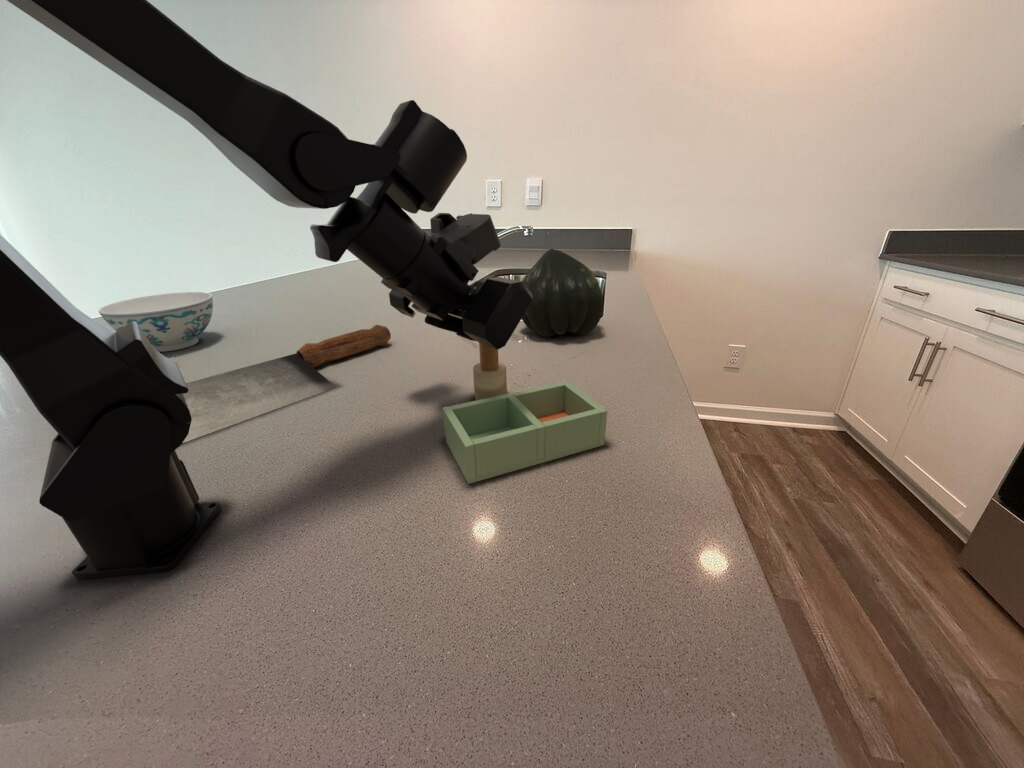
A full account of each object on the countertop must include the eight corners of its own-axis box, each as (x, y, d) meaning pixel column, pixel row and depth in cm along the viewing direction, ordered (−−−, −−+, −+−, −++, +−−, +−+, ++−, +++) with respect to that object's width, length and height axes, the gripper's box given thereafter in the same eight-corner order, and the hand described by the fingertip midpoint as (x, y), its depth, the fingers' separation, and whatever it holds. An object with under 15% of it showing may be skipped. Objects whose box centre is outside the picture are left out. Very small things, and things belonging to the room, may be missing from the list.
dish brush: (508, 403, 49) (505, 291, 43) (475, 405, 49) (467, 293, 43) (505, 388, 52) (502, 284, 47) (474, 390, 52) (467, 285, 46)
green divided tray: (468, 484, 36) (465, 446, 34) (445, 441, 42) (442, 407, 40) (604, 445, 41) (607, 410, 39) (566, 411, 47) (567, 380, 46)
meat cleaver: (164, 450, 42) (149, 416, 40) (138, 416, 48) (124, 386, 47) (422, 357, 65) (420, 333, 63) (381, 343, 72) (378, 320, 70)
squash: (607, 317, 62) (604, 234, 67) (510, 320, 64) (513, 239, 68) (600, 351, 76) (597, 279, 80) (520, 352, 78) (522, 282, 82)
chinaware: (148, 366, 63) (126, 318, 59) (101, 352, 69) (80, 308, 65) (243, 337, 75) (230, 296, 71) (196, 328, 81) (182, 289, 78)
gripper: (516, 179, 32) (593, 296, 43) (399, 185, 44) (483, 275, 56) (440, 297, 30) (541, 386, 42) (342, 269, 43) (440, 343, 54)
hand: (497, 340), depth 48 cm, fingers closed on dish brush, 2 cm apart
